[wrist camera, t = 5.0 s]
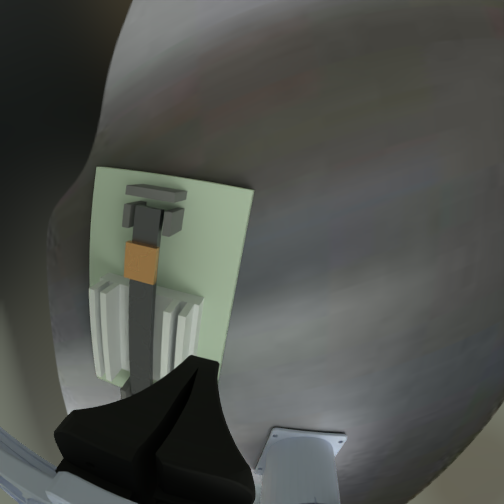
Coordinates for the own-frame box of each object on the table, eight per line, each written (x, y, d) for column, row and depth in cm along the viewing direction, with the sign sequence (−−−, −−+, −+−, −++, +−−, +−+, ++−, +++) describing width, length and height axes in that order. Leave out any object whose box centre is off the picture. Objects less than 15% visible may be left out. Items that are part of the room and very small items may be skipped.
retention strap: (155, 400, 22) (150, 409, 21) (133, 393, 22) (127, 401, 21) (168, 209, 18) (160, 211, 17) (138, 203, 18) (129, 205, 17)
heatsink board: (213, 407, 25) (203, 441, 20) (102, 371, 25) (80, 397, 21) (254, 190, 20) (247, 193, 15) (105, 166, 20) (69, 166, 16)
